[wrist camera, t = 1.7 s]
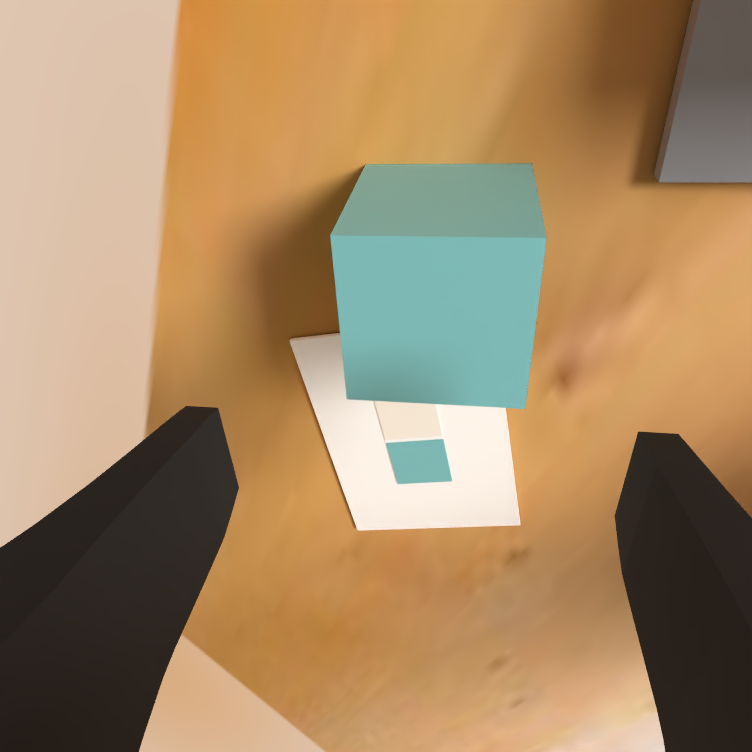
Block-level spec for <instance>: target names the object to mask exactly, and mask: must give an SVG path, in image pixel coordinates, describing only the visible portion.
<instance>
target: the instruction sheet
mask: <svg viewBox="0 0 752 752" xmlns="http://www.w3.org/2000/svg"><path fill="white" fill-rule="evenodd" d="M290 344H291V347H292V350H293V353H294V355H295V358H296V361H297V364H298V366H299V369H300V372H301V375H302V378H303V380H304V383H305V386H306V389H307V391H308V394H309V397H310V400H311V403H312V405H313V408H314V411H315V414H316V416H317V419H318V422H319V425H320V428H321V430H322V433H323V436H324V439H325V442H326V444H327V447H328V450H329V453H330V455H331V458H332V461H333V464H334V467H335V469H336V472H337V475H338V478H339V480H340V483H341V486H342V489H343V492H344V494H345V497H346V500H347V503H348V505H349V508H350V511H351V514H352V517H353V519H354V522H355V525H356V528H357V530H388V529H418V528H449V527H479V526H510V525H520V516H519V508H518V500H517V493H516V485H515V477H514V469H513V462H512V454H511V446H510V438H509V431H508V423H507V415H506V408H500V407H481V406H462V405H443V404H424V403H405V402H386V401H367V400H348V399H347V397H346V387H345V377H344V367H343V357H342V347H341V337H340V333H334V334H326V335H317V336H309V337H300V338H292V339H290Z"/></svg>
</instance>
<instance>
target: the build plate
mask: <svg viewBox="0 0 752 752" xmlns="http://www.w3.org/2000/svg"><path fill="white" fill-rule="evenodd" d="M654 176H655V177H656V179H657V180H658V182H752V0H693V2H692V6H691V11H690V15H689V20H688V24H687V29H686V33H685V38H684V42H683V47H682V51H681V56H680V60H679V64H678V69H677V73H676V78H675V82H674V87H673V91H672V96H671V100H670V105H669V109H668V114H667V118H666V123H665V127H664V131H663V136H662V140H661V145H660V149H659V154H658V158H657V163H656V167H655V172H654Z"/></svg>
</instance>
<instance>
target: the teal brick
mask: <svg viewBox="0 0 752 752" xmlns="http://www.w3.org/2000/svg"><path fill="white" fill-rule="evenodd" d="M330 238H331V248H332V258H333V268H334V278H335V288H336V298H337V308H338V318H339V327H340V337H341V347H342V357H343V367H344V377H345V387H346V397H347V399H348V400H367V401H386V402H405V403H424V404H443V405H462V406H481V407H500V408H519V409H525V406H526V398H527V390H528V382H529V374H530V366H531V358H532V350H533V342H534V334H535V326H536V318H537V310H538V302H539V294H540V286H541V278H542V270H543V262H544V254H545V247H546V239H547V238H546V233H545V227H544V222H543V217H542V212H541V207H540V202H539V197H538V192H537V186H536V181H535V176H534V171H533V166H532V163H515V164H366V165H365V167H364V169H363V171H362V173H361V175H360V177H359V179H358V181H357V183H356V185H355V187H354V189H353V191H352V193H351V195H350V197H349V199H348V201H347V203H346V205H345V207H344V209H343V211H342V213H341V215H340V217H339V219H338V221H337V223H336V225H335V227H334V229H333V231H332V233H331V235H330Z"/></svg>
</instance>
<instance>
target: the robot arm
mask: <svg viewBox="0 0 752 752" xmlns="http://www.w3.org/2000/svg"><path fill="white" fill-rule="evenodd" d="M238 489H239V486H238V482H237V479H236V475H235V471H234V467H233V463H232V460H231V456H230V452H229V448H228V444H227V441H226V437H225V433H224V429H223V425H222V422H221V418H220V414H219V410H218V408H210V407H193V406H186V407H184V408H183V409H182V410H180V411H179V412H178V413H176V414H175V415H174V416H173V417H171V418H170V419H169V420H168V421H166V422H165V423H164V424H163V425H161V426H160V427H159V428H158V429H157V430H155V431H154V432H153V433H152V434H150V435H149V436H148V437H147V438H146V439H144V440H143V441H142V442H141V443H140V444H138V445H137V446H136V447H135V448H134V449H132V450H131V451H130V452H129V453H127V454H126V455H125V456H124V457H122V458H121V459H120V460H119V461H117V462H116V463H115V464H114V465H112V466H111V467H110V468H109V469H107V470H106V471H105V472H104V473H102V474H101V475H100V476H99V477H97V478H96V479H95V480H94V481H92V482H91V483H90V484H89V485H87V486H86V487H85V488H83V489H82V490H81V491H79V492H78V493H77V494H75V495H74V496H72V497H71V498H70V499H68V500H67V501H66V502H64V503H63V504H62V505H60V506H59V507H58V508H56V509H55V510H54V511H52V512H51V513H50V514H48V515H47V516H46V517H44V518H43V519H41V520H40V521H39V522H37V523H36V524H35V525H33V526H32V527H30V528H29V529H28V530H26V531H24V532H23V533H22V534H20V535H19V536H17V537H16V538H14V539H13V540H11V541H10V542H8V543H7V544H5V545H4V546H2V547H1V548H0V752H139V749H140V746H141V742H142V739H143V736H144V733H145V730H146V727H147V724H148V721H149V718H150V715H151V712H152V709H153V706H154V703H155V700H156V697H157V694H158V691H159V688H160V685H161V682H162V679H163V676H164V674H165V672H166V669H167V666H168V664H169V661H170V659H171V657H172V654H173V652H174V649H175V647H176V645H177V643H178V640H179V638H180V636H181V634H182V631H183V629H184V627H185V625H186V623H187V620H188V618H189V616H190V614H191V611H192V609H193V607H194V605H195V602H196V600H197V598H198V596H199V594H200V591H201V589H202V587H203V585H204V582H205V580H206V578H207V576H208V573H209V571H210V569H211V567H212V564H213V562H214V560H215V557H216V555H217V553H218V551H219V548H220V546H221V544H222V541H223V539H224V536H225V533H226V530H227V526H228V523H229V520H230V517H231V513H232V510H233V506H234V503H235V499H236V496H237V492H238ZM615 522H616V531H617V539H618V548H619V555H620V562H621V569H622V575H623V579H624V583H625V587H626V591H627V595H628V599H629V603H630V607H631V611H632V615H633V619H634V623H635V627H636V631H637V634H638V638H639V642H640V646H641V650H642V654H643V657H644V661H645V665H646V669H647V673H648V677H649V681H650V684H651V688H652V692H653V696H654V700H655V704H656V707H657V712H658V716H659V721H660V726H661V730H662V735H663V739H664V745H665V752H752V518H751V517H750V516H749V515H748V513H747V512H746V511H745V510H744V509H743V508H742V507H741V506H740V504H739V503H738V502H737V501H736V500H735V499H734V498H733V497H732V495H731V494H730V493H729V492H728V491H727V490H726V489H725V487H724V486H723V485H722V484H721V483H720V482H719V481H718V479H717V478H716V477H715V476H714V475H713V474H712V472H711V471H710V470H709V469H708V468H707V467H706V465H705V464H704V463H703V462H702V461H701V460H700V458H699V457H698V456H697V455H696V454H695V453H694V451H693V450H692V449H691V448H690V447H689V446H688V445H687V443H686V442H685V441H684V440H683V439H682V438H681V437H680V436H679V434H669V433H652V432H638V435H637V438H636V442H635V446H634V449H633V453H632V456H631V460H630V463H629V467H628V471H627V474H626V478H625V481H624V485H623V488H622V492H621V496H620V499H619V503H618V506H617V510H616V514H615Z"/></svg>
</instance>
